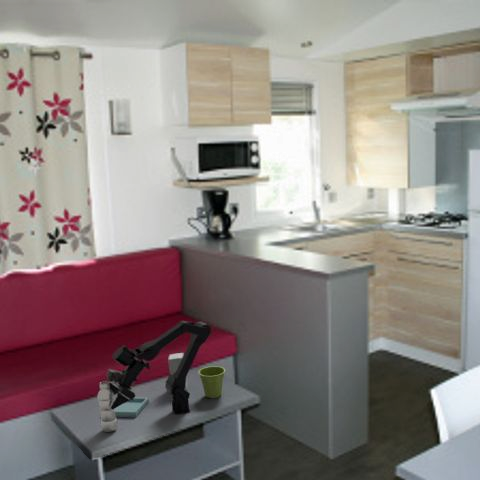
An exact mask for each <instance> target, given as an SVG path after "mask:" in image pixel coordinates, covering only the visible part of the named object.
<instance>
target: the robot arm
mask: <svg viewBox="0 0 480 480" xmlns="http://www.w3.org/2000/svg"><path fill="white" fill-rule="evenodd" d="M185 333H188V334H190V341H189V342H188V345H187V348H186V349H185V352H184V353H183V354H184V356H183V358H182V360H181V362H180V364H179V366H178V369H177V371H176V372H175V373H174V374H173V375H171V374H170V373H169V374H168V377H167V379H166V380H165V390H166V392H168V393H169V394H171V397H172V399H171V401H170V403H171V410H172V412H173V413H174V415H178V414H185V413H190V412H191V409H190V404H189V398H190V395H191V393H190V392H189V391H187V390H185V385H186V376H188V373H189V371H190V369H191V368H192V365H193V363H194V360H195V359H196V356H198V352H199V351H200V348H201V346H202V345H203V344H205V342H207V341H208V339H209V337H210V336H211V334H212V329H211V326H210V325H208V324H207V323H205V322H202V321H197V322H193V321H185V320H181V321H179V322H178V323H177V324H176V325H174V326H173V327H171V328H170V329H168V330H166V332H164V333H163V334H161V335H159V337H157V338H155V339H152V340H149V341H147V342H144V343H142V344H140V346H138V347H136V348H134V349H131V350H130V348H128V347H127V346H126V345H125V344H123V345H121V347H119V348H117V349H116V350H115V352H113V355H112V360H114V361H116V363H118V364H119V365H121V366H123V367H126V368H125V369H124V368H123V369H121V371H118V370H115V369H110V368H108V369H107V371H106V374H105V378H107V381H108V382H109V385H110V387H109V388H110V389H111V390H112V391H113V393H114V396H115V395H116V398H114V400H115V401H114V402H113V404H112V406H111V409H112V410H113V409H115V408H116V407H118V406H120V405H122V404H124V403H126V402H127V401H130V400H133V399H134V398H136V394H135V392H134V391H133V390H132V386H133V384H134V383H135V382H138V381H139V379H138V377H139V376H140V374H141V373H142V372H143V370H144V369H145V368H146V369H147V370H150V369H151V367H150V362H151V361H153V360H155V358H157V356H158V355H160V353H161V352H162V350H163V349H164V348H166V347H167V346H168V345H170V344H171V343H172V342H174V341H175V340H176V339H178V338H179V337H180V336H182V335H184V334H185Z"/></svg>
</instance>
